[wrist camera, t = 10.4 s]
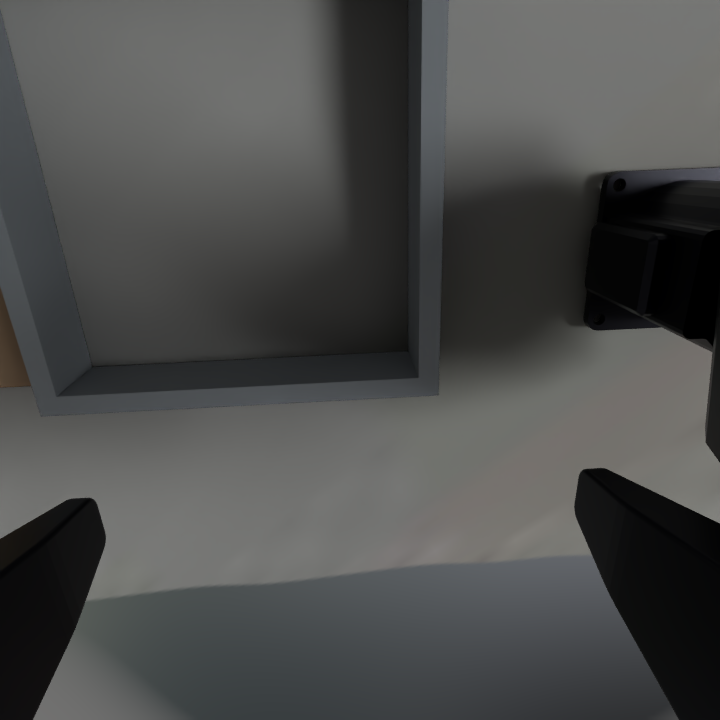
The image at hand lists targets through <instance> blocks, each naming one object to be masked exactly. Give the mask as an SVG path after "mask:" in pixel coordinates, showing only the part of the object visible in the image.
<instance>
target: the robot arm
mask: <svg viewBox="0 0 720 720" xmlns="http://www.w3.org/2000/svg"><path fill="white" fill-rule="evenodd" d="M617 179H619V180H620V184H621V185H620V187H619V189H618V190H617V191H615V190H614V189H613V184H614V182H615V181H616V180H617ZM585 287H586V288H587V297H586V304H585V311H584V323H585V324H586V325H587V326H588V327H590V328H591V329H593V330H617V329H637V328H657V327H662V328H664V329H666V330H668V331H670V332H672V333H674V334H676V335H679V336H681V337H683V338H685V339H687V340H689V341H691V342H693V343H695V344H697V345H699V346H701V347H703V348H705V349H707V350H709V351H711V352H713V354H712V364H711V374H710V384H709V394H708V404H707V414H706V424H705V433H706V444H707V445H708V446H709V448H710V449H711V451H712V452H713V453H714V455H715V456H716V458H717V459H718V461H719V462H720V167H713V168H688V169H663V170H638V171H616V172H612V173H610V174H609V175H607V176H606V177H605V179H604V180H603V183H602V188H601V195H600V203H599V210H598V217H597V224H596V225H595V226H594V227H593V228H592V233H591V240H590V247H589V255H588V262H587V270H586V277H585ZM598 314H600V316H601V317H600V319H599V320H598V321H597V322H594V317H595V316H596V315H598ZM574 508H575V515H576V518H577V521H578V523H579V526H580V528H581V530H582V533H583V535H584V537H585V540H586V542H587V544H588V547H589V549H590V551H591V554H592V556H593V558H594V560H595V563H596V565H597V568H598V570H599V572H600V574H601V577H602V579H603V582H604V584H605V586H606V588H607V590H608V592H609V594H610V596H611V598H612V600H613V602H614V604H615V606H616V608H617V609H618V611H619V613H620V615H621V617H622V618H623V620H624V622H625V624H626V625H627V627H628V629H629V631H630V633H631V634H632V636H633V638H634V640H635V642H636V643H637V645H638V647H639V649H640V651H641V652H642V654H643V656H644V658H645V660H646V662H647V663H648V665H649V667H650V669H651V670H652V672H653V674H654V676H655V678H656V680H657V681H658V683H659V685H660V687H661V689H662V690H663V692H664V694H665V696H666V697H667V699H668V701H669V703H670V705H671V706H672V708H673V710H674V712H675V714H676V715H677V717H678V719H679V720H720V523H717V522H715V521H713V520H711V519H709V518H707V517H705V516H703V515H701V514H699V513H697V512H695V511H693V510H690V509H688V508H686V507H684V506H682V505H680V504H678V503H676V502H674V501H672V500H670V499H668V498H666V497H663V496H661V495H659V494H657V493H655V492H653V491H651V490H649V489H647V488H645V487H643V486H641V485H639V484H636V483H634V482H632V481H630V480H628V479H626V478H624V477H622V476H620V475H618V474H616V473H614V472H612V471H609V470H607V469H605V468H594V469H584V470H582V471H581V472H580V474H579V479H578V485H577V492H576V498H575V506H574ZM105 542H106V535H105V530H104V527H103V523H102V520H101V516H100V513H99V509H98V506H97V503H96V502H95V500H94V499H92V498H76V499H69V500H66V501H65V502H63V503H61V504H59V505H58V506H56V507H54V508H53V509H51V510H49V511H47V512H46V513H44V514H42V515H41V516H39V517H37V518H35V519H34V520H32V521H30V522H28V523H27V524H25V525H23V526H22V527H20V528H18V529H16V530H15V531H13V532H11V533H10V534H8V535H6V536H4V537H3V538H1V539H0V720H33V718H34V716H35V714H36V712H37V710H38V708H39V705H40V703H41V701H42V699H43V697H44V695H45V693H46V690H47V688H48V686H49V684H50V682H51V680H52V678H53V676H54V673H55V671H56V669H57V667H58V665H59V663H60V661H61V659H62V656H63V654H64V652H65V650H66V648H67V646H68V644H69V642H70V639H71V637H72V635H73V632H74V630H75V628H76V625H77V623H78V620H79V618H80V615H81V613H82V609H83V607H84V604H85V601H86V598H87V595H88V593H89V590H90V587H91V584H92V581H93V578H94V576H95V573H96V570H97V567H98V564H99V561H100V559H101V556H102V553H103V550H104V547H105Z"/></svg>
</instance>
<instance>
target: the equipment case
mask: <svg viewBox="0 0 720 720" xmlns="http://www.w3.org/2000/svg"><path fill="white" fill-rule="evenodd" d="M448 8H449V0H408V351H401V352H381V353H362V354H342V355H322V356H302V357H282V358H263V359H243V360H223V361H203V362H183V363H164V364H144V365H124V366H104V367H92V364H91V360H90V356H89V352H88V348H87V344H86V341H85V337H84V333H83V329H82V325H81V321H80V317H79V313H78V310H77V306H76V302H75V298H74V294H73V290H72V286H71V282H70V279H69V275H68V271H67V267H66V263H65V259H64V255H63V251H62V248H61V244H60V240H59V236H58V232H57V228H56V224H55V220H54V217H53V213H52V209H51V205H50V201H49V197H48V193H47V189H46V186H45V182H44V178H43V174H42V170H41V166H40V162H39V158H38V155H37V151H36V147H35V143H34V139H33V135H32V131H31V127H30V124H29V120H28V116H27V112H26V108H25V104H24V100H23V96H22V93H21V89H20V85H19V81H18V77H17V73H16V69H15V65H14V62H13V58H12V54H11V50H10V46H9V42H8V38H7V34H6V31H5V27H4V23H3V19H2V15H1V11H0V287H1V290H2V294H3V297H4V300H5V303H6V306H7V310H8V313H9V316H10V319H11V322H12V326H13V329H14V332H15V335H16V338H17V342H18V345H19V348H20V351H21V354H22V358H23V361H24V364H25V367H26V370H27V374H28V377H29V380H30V383H31V386H32V390H33V393H34V396H35V399H36V402H37V406H38V409H39V412H40V415H41V416H59V415H77V414H96V413H115V412H134V411H152V410H171V409H190V408H209V407H227V406H246V405H265V404H284V403H302V402H321V401H340V400H359V399H377V398H396V397H415V396H434V395H439V358H440V319H441V280H442V241H443V202H444V163H445V125H446V86H447V47H448Z"/></svg>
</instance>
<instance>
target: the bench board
mask: <svg viewBox="0 0 720 720" xmlns="http://www.w3.org/2000/svg"><path fill="white" fill-rule="evenodd" d="M21 386H31V383H30V380H29V377H28V374H27V370H26V367H25V364H24V361H23V358H22V354H21V351H20V348H19V345H18V342H17V338H16V335H15V332H14V329H13V326H12V322H11V319H10V316H9V313H8V310H7V306H6V303H5V300H4V297H3V294H2V290H1V287H0V388H2V387H21Z"/></svg>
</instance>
